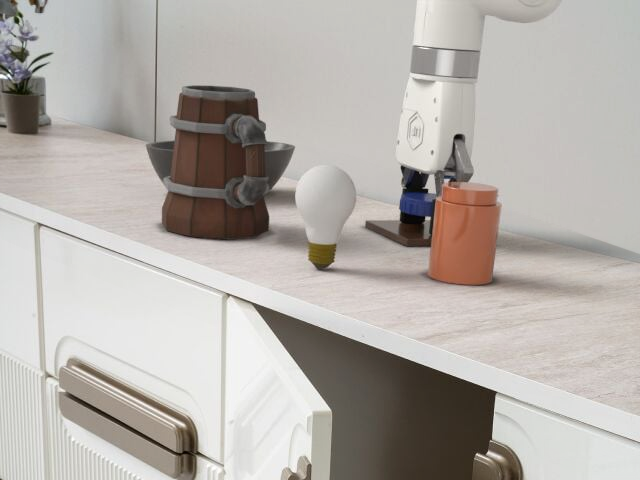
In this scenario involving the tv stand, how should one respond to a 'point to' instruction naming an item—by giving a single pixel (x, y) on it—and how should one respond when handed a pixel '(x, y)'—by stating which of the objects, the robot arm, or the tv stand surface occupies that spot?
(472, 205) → the jar
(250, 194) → the mug
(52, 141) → the tv stand surface
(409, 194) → the lid
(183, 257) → the tv stand surface
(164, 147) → the bowl
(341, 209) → the light bulb
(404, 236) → the plate
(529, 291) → the tv stand surface
